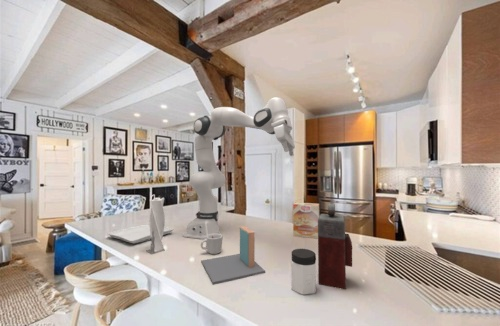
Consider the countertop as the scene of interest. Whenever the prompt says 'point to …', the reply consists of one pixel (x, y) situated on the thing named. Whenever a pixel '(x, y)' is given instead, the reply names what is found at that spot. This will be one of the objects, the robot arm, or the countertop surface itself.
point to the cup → (213, 243)
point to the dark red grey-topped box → (333, 249)
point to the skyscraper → (156, 225)
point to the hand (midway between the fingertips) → (289, 153)
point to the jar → (303, 271)
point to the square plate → (136, 233)
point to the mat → (229, 268)
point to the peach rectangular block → (247, 246)
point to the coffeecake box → (305, 220)
